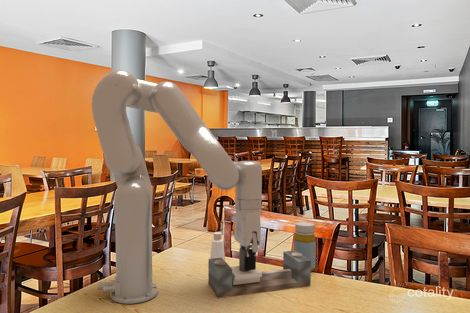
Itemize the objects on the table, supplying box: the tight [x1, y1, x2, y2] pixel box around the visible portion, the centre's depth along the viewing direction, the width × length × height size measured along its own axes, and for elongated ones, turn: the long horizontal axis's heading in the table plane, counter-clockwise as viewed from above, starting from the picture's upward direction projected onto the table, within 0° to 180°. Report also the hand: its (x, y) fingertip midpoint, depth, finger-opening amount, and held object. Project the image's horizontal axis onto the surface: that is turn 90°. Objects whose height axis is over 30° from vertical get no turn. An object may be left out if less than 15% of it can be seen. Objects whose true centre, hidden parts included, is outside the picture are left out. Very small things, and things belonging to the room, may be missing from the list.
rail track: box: [208, 250, 312, 299], centre depth 110 cm, size 28×10×8 cm, turn 108°
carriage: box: [230, 247, 263, 285], centre depth 109 cm, size 8×7×9 cm
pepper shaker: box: [209, 231, 226, 262], centre depth 127 cm, size 5×5×11 cm
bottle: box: [293, 221, 317, 273], centre depth 124 cm, size 7×7×15 cm
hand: (247, 267), depth 109 cm, fingers closed on carriage, 3 cm apart
